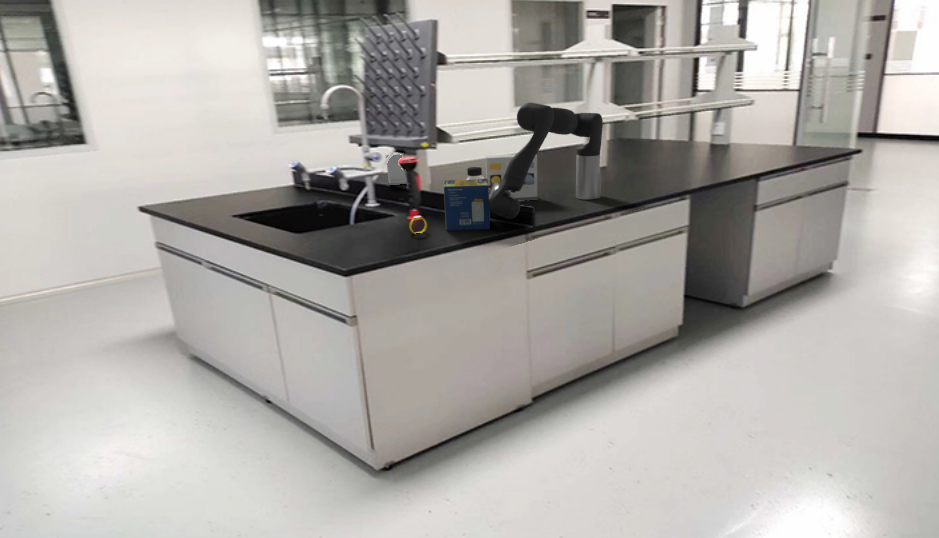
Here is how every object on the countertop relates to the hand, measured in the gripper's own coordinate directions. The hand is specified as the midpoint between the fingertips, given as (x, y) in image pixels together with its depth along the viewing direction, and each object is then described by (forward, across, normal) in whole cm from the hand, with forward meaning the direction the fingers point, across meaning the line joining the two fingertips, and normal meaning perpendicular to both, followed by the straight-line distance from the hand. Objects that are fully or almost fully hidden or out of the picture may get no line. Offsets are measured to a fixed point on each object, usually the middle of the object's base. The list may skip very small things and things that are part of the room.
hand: (497, 184), depth 236 cm
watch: (-31, +29, +9) cm, 43 cm away
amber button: (+8, 0, +2) cm, 8 cm away
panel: (+11, -6, +9) cm, 16 cm away
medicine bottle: (+24, +8, +9) cm, 27 cm away
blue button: (+8, -13, +2) cm, 15 cm away
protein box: (-24, +12, +9) cm, 29 cm away
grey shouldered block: (+54, +44, +9) cm, 70 cm away
